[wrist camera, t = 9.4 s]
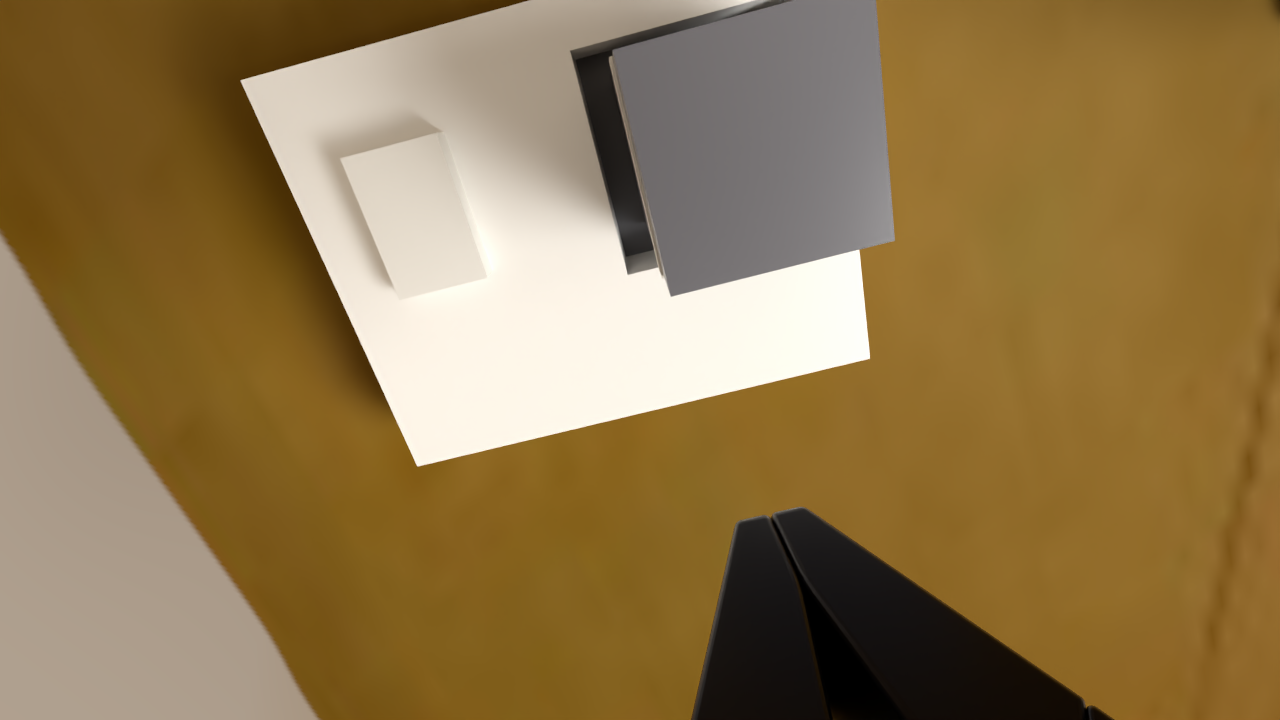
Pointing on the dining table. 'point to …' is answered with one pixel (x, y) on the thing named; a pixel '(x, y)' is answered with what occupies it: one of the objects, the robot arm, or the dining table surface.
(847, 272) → the socket plate
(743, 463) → the dining table surface
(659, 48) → the plug
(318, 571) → the dining table surface
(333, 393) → the dining table surface
